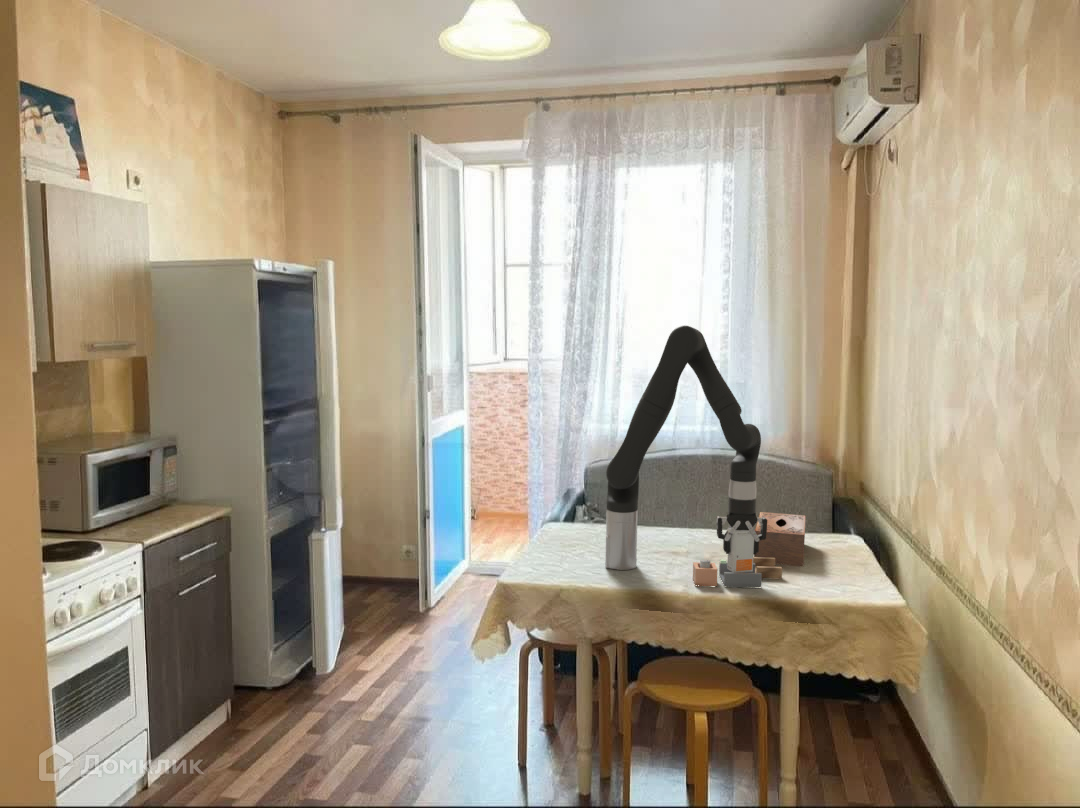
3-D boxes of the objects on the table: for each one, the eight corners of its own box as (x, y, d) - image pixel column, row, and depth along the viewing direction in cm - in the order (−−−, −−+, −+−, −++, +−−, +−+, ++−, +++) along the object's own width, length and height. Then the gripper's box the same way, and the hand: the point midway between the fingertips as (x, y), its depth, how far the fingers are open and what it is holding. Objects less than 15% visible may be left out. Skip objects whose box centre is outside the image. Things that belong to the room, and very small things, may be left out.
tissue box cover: (803, 567, 248) (804, 534, 247) (753, 562, 253) (754, 530, 252) (804, 545, 273) (805, 515, 272) (759, 541, 277) (760, 511, 276)
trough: (756, 578, 237) (757, 567, 236) (750, 567, 247) (750, 556, 247) (781, 579, 236) (782, 568, 236) (774, 568, 246) (774, 557, 246)
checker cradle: (724, 587, 228) (724, 570, 228) (718, 575, 239) (719, 559, 238) (761, 588, 228) (761, 571, 227) (754, 576, 238) (754, 560, 237)
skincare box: (734, 573, 230) (735, 531, 229) (726, 569, 234) (728, 527, 233) (753, 571, 232) (755, 530, 230) (746, 567, 236) (747, 526, 235)
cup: (695, 586, 229) (695, 563, 228) (692, 579, 235) (693, 557, 234) (717, 586, 229) (717, 564, 228) (713, 580, 235) (714, 558, 234)
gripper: (718, 498, 227) (716, 556, 229) (771, 499, 227) (769, 558, 228) (714, 492, 235) (713, 549, 237) (765, 493, 234) (763, 550, 236)
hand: (740, 553), depth 232 cm, fingers closed on skincare box, 7 cm apart
